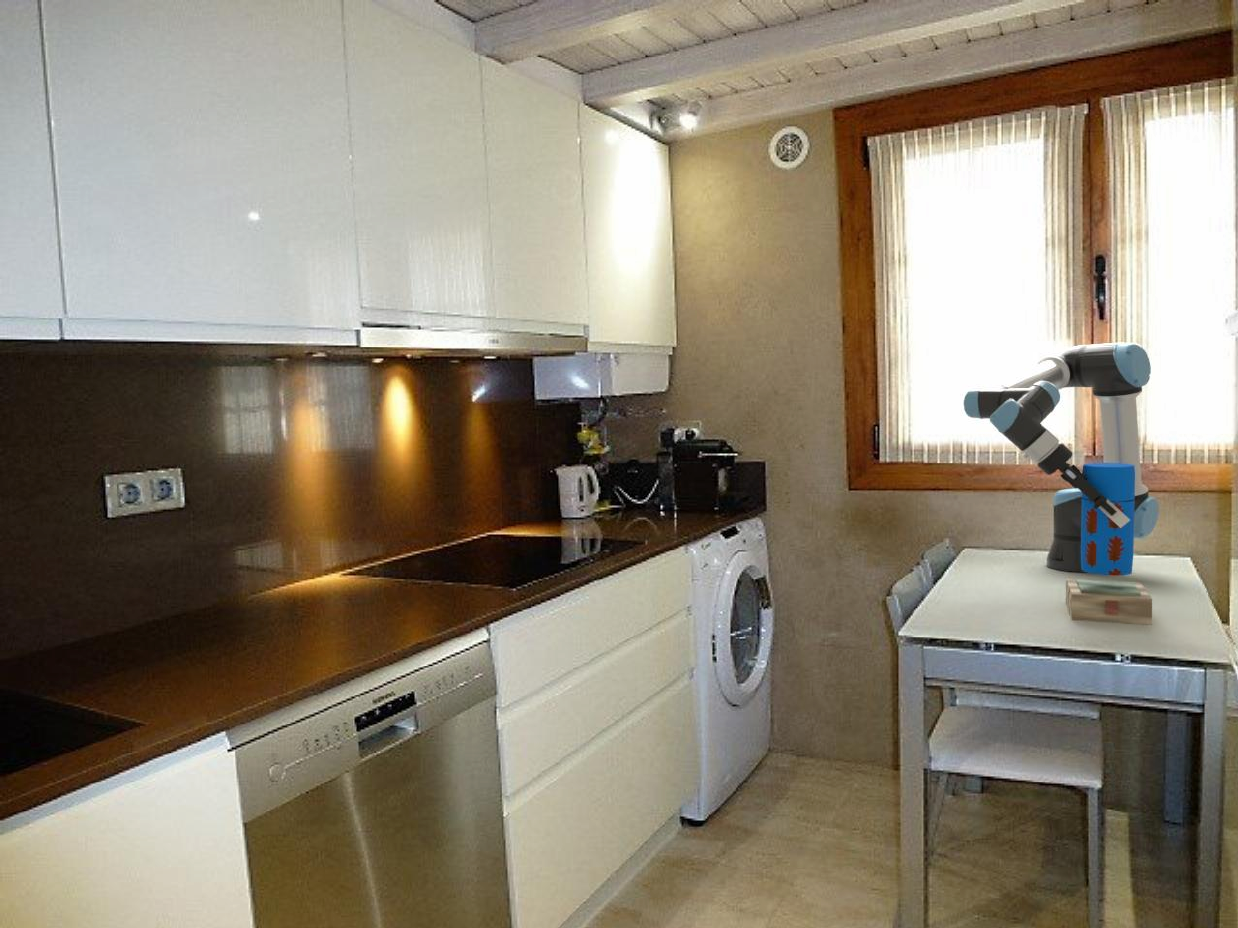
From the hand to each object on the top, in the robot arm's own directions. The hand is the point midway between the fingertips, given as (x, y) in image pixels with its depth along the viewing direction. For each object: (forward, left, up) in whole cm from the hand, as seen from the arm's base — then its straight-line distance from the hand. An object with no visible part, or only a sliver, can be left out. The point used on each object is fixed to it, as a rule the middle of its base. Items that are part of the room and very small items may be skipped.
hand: (1121, 520), depth 205 cm
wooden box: (0, -3, -22) cm, 23 cm away
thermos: (0, -3, -12) cm, 13 cm away
